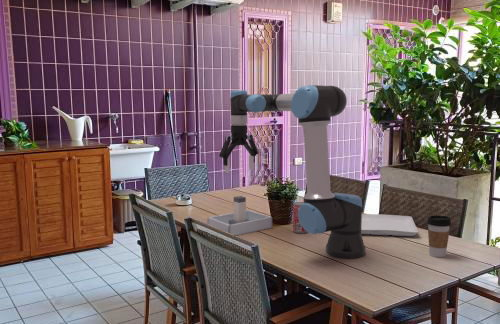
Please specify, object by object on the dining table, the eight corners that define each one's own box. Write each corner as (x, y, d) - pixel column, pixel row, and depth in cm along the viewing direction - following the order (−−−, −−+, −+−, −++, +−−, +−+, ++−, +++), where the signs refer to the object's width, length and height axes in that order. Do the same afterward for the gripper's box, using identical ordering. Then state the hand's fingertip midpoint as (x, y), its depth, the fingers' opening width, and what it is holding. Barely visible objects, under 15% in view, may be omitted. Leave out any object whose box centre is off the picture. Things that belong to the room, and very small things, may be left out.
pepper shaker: (245, 226, 226) (245, 197, 224) (238, 228, 223) (238, 198, 221) (240, 225, 229) (240, 195, 227) (233, 226, 226) (233, 197, 224)
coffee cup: (447, 260, 181) (449, 220, 179) (423, 256, 186) (425, 217, 183) (451, 253, 188) (453, 215, 186) (428, 250, 193) (430, 213, 190)
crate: (272, 227, 226) (272, 217, 225) (229, 236, 212) (229, 225, 211) (249, 219, 240) (248, 209, 240) (207, 228, 226) (207, 217, 225)
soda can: (308, 234, 215) (308, 205, 213) (292, 233, 217) (292, 204, 215) (309, 229, 222) (309, 202, 220) (293, 229, 224) (293, 201, 222)
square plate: (353, 220, 239) (353, 212, 239) (411, 223, 234) (411, 215, 233) (353, 236, 213) (353, 227, 212) (419, 240, 207) (419, 231, 207)
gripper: (255, 123, 230) (256, 167, 233) (211, 125, 215) (212, 173, 218) (265, 123, 224) (265, 169, 227) (220, 126, 209) (221, 175, 212)
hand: (239, 171), depth 222 cm, fingers open, 13 cm apart
